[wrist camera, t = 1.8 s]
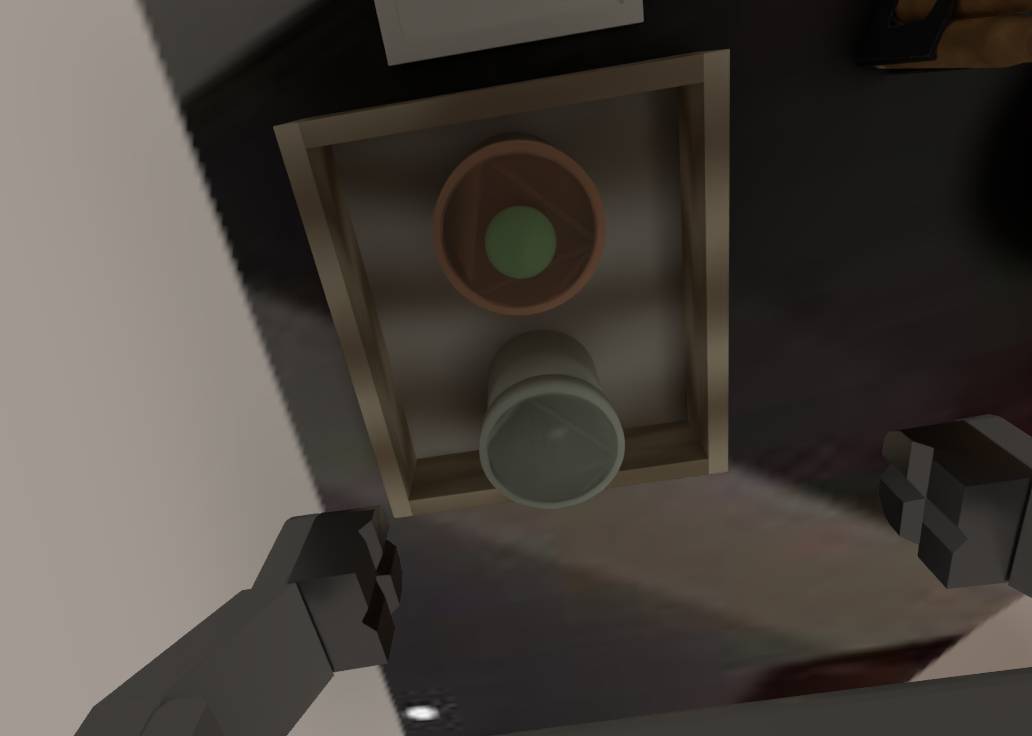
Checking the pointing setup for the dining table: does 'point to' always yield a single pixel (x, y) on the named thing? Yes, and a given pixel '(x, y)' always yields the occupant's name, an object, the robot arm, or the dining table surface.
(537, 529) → the dining table surface
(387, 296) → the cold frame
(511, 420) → the sage pot
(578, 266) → the sprouted pot
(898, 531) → the robot arm
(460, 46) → the tray
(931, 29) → the ammunition clip
